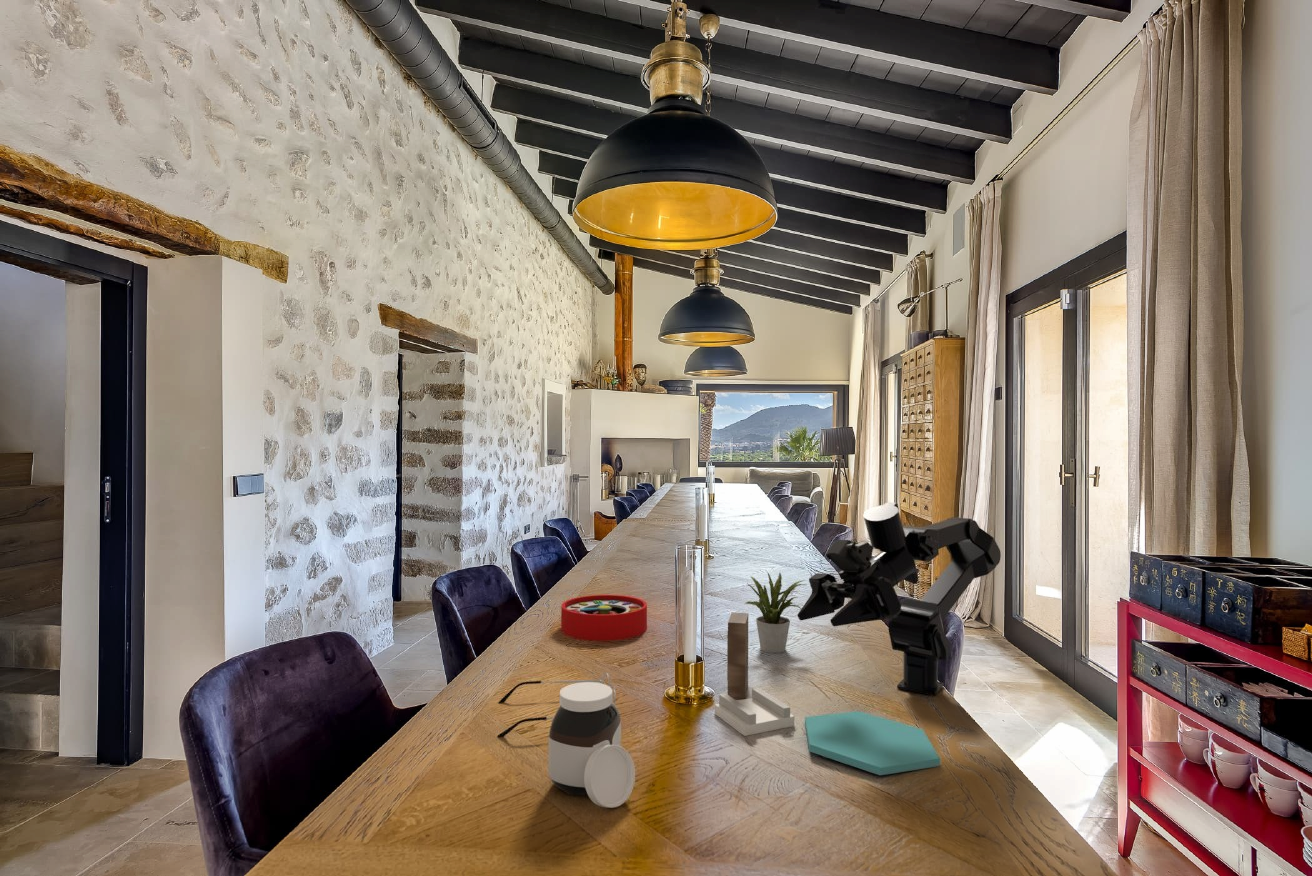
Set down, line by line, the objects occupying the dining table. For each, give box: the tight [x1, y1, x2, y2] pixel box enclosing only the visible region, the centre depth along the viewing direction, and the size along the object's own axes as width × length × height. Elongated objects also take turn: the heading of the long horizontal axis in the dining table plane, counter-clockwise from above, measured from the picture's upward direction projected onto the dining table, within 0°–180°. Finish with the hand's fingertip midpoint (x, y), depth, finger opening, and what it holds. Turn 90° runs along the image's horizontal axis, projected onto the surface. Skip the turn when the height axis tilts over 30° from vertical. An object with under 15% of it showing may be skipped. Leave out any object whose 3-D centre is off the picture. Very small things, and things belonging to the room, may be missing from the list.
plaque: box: [804, 710, 941, 776], centre depth 99 cm, size 18×2×20 cm
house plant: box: [744, 571, 808, 654], centre depth 142 cm, size 14×14×16 cm
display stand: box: [714, 687, 795, 737], centre depth 107 cm, size 9×9×3 cm
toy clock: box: [560, 594, 648, 642], centre depth 159 cm, size 20×6×20 cm
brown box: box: [726, 612, 749, 700], centre depth 119 cm, size 3×7×13 cm, turn 168°
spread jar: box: [547, 682, 636, 809], centre depth 86 cm, size 12×11×12 cm
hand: (814, 620), depth 109 cm, fingers open, 9 cm apart
